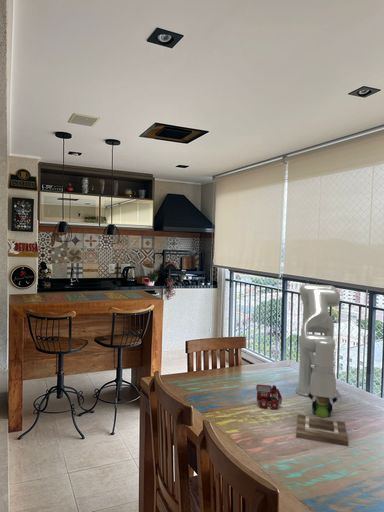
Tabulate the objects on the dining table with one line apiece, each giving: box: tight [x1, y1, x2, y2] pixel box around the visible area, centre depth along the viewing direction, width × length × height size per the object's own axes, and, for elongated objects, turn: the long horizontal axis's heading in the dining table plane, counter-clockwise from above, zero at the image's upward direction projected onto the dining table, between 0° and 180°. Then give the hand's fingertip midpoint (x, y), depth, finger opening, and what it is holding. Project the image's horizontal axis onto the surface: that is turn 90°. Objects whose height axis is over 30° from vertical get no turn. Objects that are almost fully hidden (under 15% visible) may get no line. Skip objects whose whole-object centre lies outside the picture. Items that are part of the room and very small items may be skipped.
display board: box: [295, 414, 349, 447], centre depth 164 cm, size 18×20×3 cm
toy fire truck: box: [255, 383, 283, 410], centre depth 188 cm, size 7×12×10 cm, turn 84°
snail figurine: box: [315, 396, 329, 419], centre depth 164 cm, size 5×6×12 cm
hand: (322, 410), depth 164 cm, fingers closed on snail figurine, 5 cm apart
